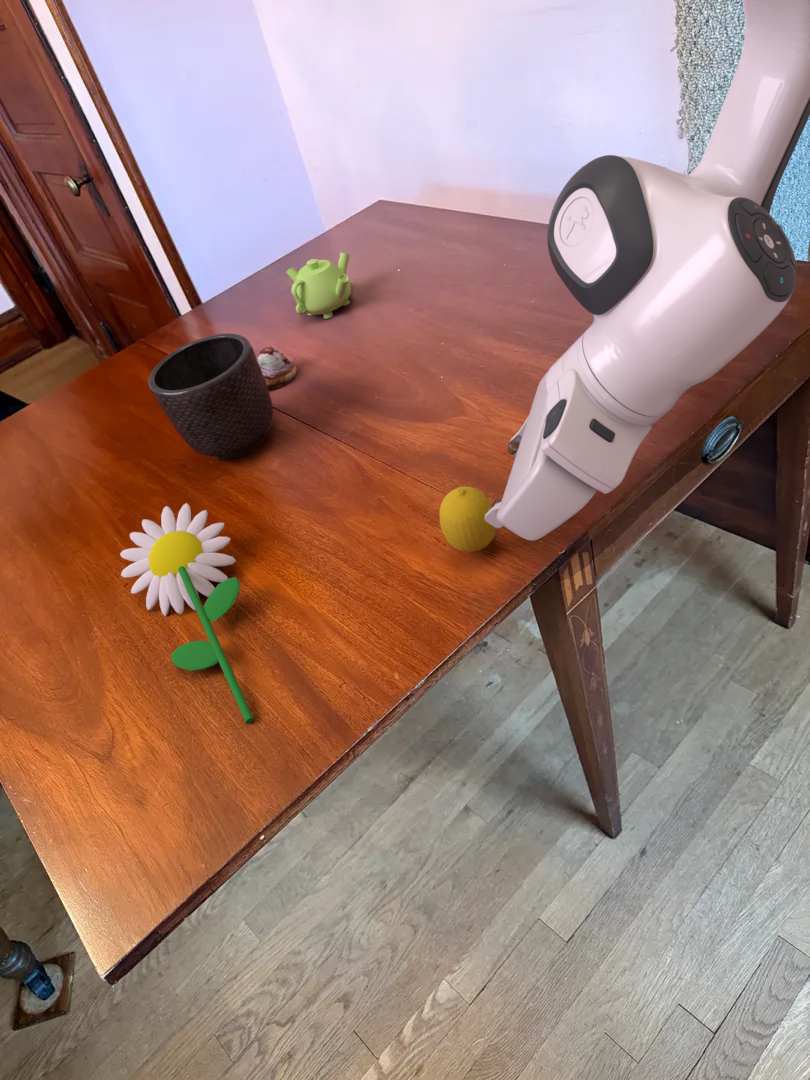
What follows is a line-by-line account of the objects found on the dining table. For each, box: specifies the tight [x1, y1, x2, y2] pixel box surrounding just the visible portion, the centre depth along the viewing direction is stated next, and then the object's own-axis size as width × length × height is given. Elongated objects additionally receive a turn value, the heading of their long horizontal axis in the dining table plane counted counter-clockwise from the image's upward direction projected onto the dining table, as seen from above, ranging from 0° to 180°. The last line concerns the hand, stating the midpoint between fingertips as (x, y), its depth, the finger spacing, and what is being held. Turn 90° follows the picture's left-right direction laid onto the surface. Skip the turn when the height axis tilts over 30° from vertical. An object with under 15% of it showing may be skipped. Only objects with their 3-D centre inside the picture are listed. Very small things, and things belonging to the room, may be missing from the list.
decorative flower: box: [119, 502, 255, 725], centre depth 78 cm, size 13×5×30 cm
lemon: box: [438, 486, 497, 553], centre depth 74 cm, size 6×6×8 cm
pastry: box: [256, 345, 297, 391], centre depth 112 cm, size 8×8×5 cm
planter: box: [147, 332, 274, 461], centre depth 99 cm, size 14×14×13 cm
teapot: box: [285, 252, 352, 320], centre depth 124 cm, size 11×12×8 cm
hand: (503, 483), depth 70 cm, fingers open, 8 cm apart
